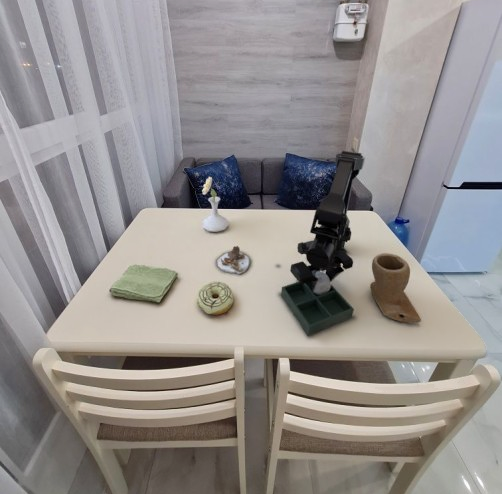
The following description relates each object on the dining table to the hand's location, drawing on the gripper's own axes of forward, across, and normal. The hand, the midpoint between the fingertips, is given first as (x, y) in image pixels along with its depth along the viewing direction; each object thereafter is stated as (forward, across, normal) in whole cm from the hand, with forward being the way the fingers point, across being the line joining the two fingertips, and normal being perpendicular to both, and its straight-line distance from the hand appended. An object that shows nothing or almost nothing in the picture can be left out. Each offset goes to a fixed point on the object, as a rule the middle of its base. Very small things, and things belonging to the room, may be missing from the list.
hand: (318, 286), depth 81 cm
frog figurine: (+3, +20, -24) cm, 31 cm away
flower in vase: (+3, +20, -48) cm, 52 cm away
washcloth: (+3, +50, -24) cm, 55 cm away
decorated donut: (+3, +31, -9) cm, 32 cm away
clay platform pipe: (+3, -17, +11) cm, 21 cm away
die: (+1, 0, 0) cm, 1 cm away
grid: (+3, +4, +4) cm, 6 cm away
